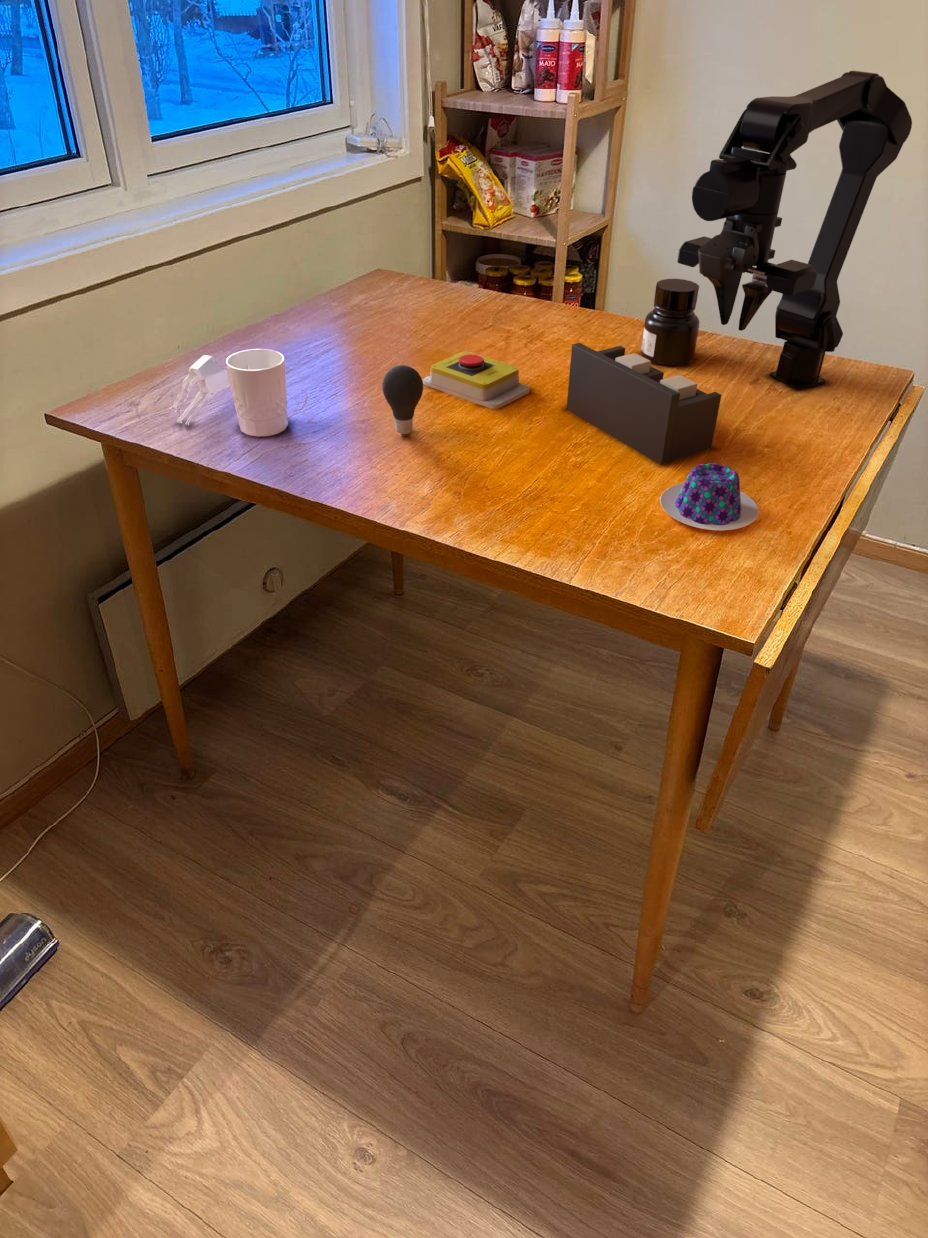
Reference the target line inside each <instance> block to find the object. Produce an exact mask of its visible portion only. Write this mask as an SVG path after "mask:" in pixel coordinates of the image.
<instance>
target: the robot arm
mask: <svg viewBox="0 0 928 1238" xmlns="http://www.w3.org/2000/svg"><path fill="white" fill-rule="evenodd" d="M835 121H837V123H838V125H839V128H840V129H841V131H842V132H841V137H840V140H839V143H838V149H839V156H840V157H839V158H840V162H841V171H840V175H839V177H838V180H837V182H836V185H835V187H834V191H833V193H832V197H831V199H830V202H829V205H828V207H827V210H826V212H825V216H824V219H823V221H822V223H821V226H820V229H819V231H818V234H817V237H816V239H815V243H814V245H813V248H812V251H811V253H810V257H809V259H808V262H807V263H806V262H803V261H798V260H794V259H789V260H786V261H783V262H780V263H772V262H769V260H772V259H774V258H775V255H776V249H772V243H773V240H774V234H775V230H776V229H775V228H778V227H781V226H782V221H783V217H780V216H778V215H779V210H780V205H781V200H782V196H783V192H784V186H785V181H786V177H787V172H788V171H792V170H795V169H796V168H797V161H796V160H795V159H794V158H793V157H792V154H793V153H794V152H795V151H796V150H798V149H800V148H801V147H802V146H804V145H805V144H806V143H807V142H808V139H809V136H810V133H812V132H813V131H815V130H817V129H819V128H822V127H824V126H826V125H829V124H831V123H833V122H835ZM912 128H913V119H912V117H911V114H910V112H909V109H908V107H907V105H906V102H905V101H904V100H903V99H902V98H901V97H900V96H898V95H897V94H896V93H895V92H894V91H892V90H891V89H890V88H889V87H888V85H887V83H886V81H885V78H884V77H883V76H881V75H880V74H878V73H876V72H868V71H860V70H850V71H848V72H847V71H846V72H844V73H843V74H842V75H841V76H839V77H837V78H835V79H833V80H830V81H827V82H825V83H822V84H819V85H818V86H815V87H812V88H811V89H808V90H805V91H803V92H801V93H799V94H796V95H791V96H774V95H773V96H763V97H756V98H754V99H752V100H751V101H750V102H749V103H747V105H746V108H745V109H744V110H743V112H742V113H741V115H740V116H739V119H738V121H736V124H735V126H734V127H733V129H732V131H731V133H730V135H729V137H728V139H727V140H726V142H725V143H724V146H723V147H722V149H721V151H720V153H719V155H718V158H719V159H718V158H717V159H712V160H711V161H710V163H709V170H708V171H706V172H703V173H702V174H701V175H700V176H699V177H698V179H697V180H696V182H695V184H694V186H693V188H692V192H691V204H692V207H693V211H694V212H695V213H696V215H697V216H698V217H699V218H700V219H702V220H703V221H706V222H714V221H715V222H716V221H719V220H723V219H725V220H724V222H723V226H722V229H721V232H720V233H719V234H716V235H714V236H713V237H709V236H708V237H707V236H705V235H704V236H700V237H697V238H692V239H689V240H686V241H684V242H683V243H682V245H681V246H680V247H679V249H678V255H677V259H676V261H677V263H678V264H679V265H684V266H686V267H690V268H696V267H697V266H698V268H699V269H698V271H699V274H700V275H702V276H703V277H704V278H707V279H708V280H709V282H710V284H711V285H712V286H713V288H714V291H715V292H714V293H715V296H716V301H717V308H718V313H719V319H720V324H721V325H722V326H725V325H728V324H729V321H730V319H731V317H732V314H733V311H734V306H735V303H736V299H737V295H738V291H739V288H740V284H741V280H742V277H743V274H745V273H746V274H751V275H752V279H751V281H749V282H747V283H743V284H742V285H741V287H742V290H743V293H744V297H743V302H742V306H741V311H740V315H739V320H738V331H741V332H742V331H745V330H746V329H747V327H748V326H749V324H750V323H751V321H752V319H754V318H753V317H754V316H755V315H756V314H757V312H758V311H759V309H760V308H761V306H762V305H763V304H764V302H765V301H766V299H767V298H768V297H769V296H770V295H771V293H772V292H775V293H777V294H782V295H781V298H780V300H779V303H778V304H777V306H776V310H775V316H774V319H775V320H774V322H775V323H774V325H775V327H774V329H775V332H774V333H775V336H774V337H775V338H777V339H780V340H783V341H784V342H783V347H782V351H780V353H779V354H780V355H779V358H778V362H777V367H776V370H775V371H770V372H769V374H768V376H769V377H771V378H772V379H774V380H776V381H778V382H781V383H782V384H784V385H786V386H788V387H790V388H792V389H794V390H802V389H806V388H810V387H811V388H812V387H815V386H819V385H823V384H826V383H827V379H826V378H824V377H822V376H820V375H821V370H822V367H823V363H824V359H825V355H826V353H833V352H835V351H836V348H838V347H839V345H840V343H841V342H842V341H841V340H842V337H844V336H843V335H844V332H843V329H842V327H841V324H840V322H839V319H838V317H837V314H838V311H839V308H840V305H841V298H840V291H839V286H838V278H839V276H840V274H841V271H842V269H843V266H844V264H845V262H846V258H847V256H848V253H849V250H850V248H851V245H852V242H853V240H854V238H855V235H856V233H857V230H858V228H859V224H860V222H861V220H862V217H863V215H864V211H865V209H866V206H867V204H868V202H869V198H870V196H871V193H872V190H873V188H874V186H875V183H876V180H877V178H878V177H879V176H880V175H881V174H882V173H883V172H884V171H885V170H886V169H887V168H888V167H889V166H891V164H893V163H894V162H895V161H896V160H897V158H898V156H899V154H900V152H901V150H902V148H903V147H904V146H903V145H904V144H905V143H906V141H907V140H908V138H909V136H910V134H911V130H912Z"/></svg>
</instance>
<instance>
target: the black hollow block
mask: <svg viewBox="0 0 928 1238" xmlns="http://www.w3.org/2000/svg"><path fill="white" fill-rule="evenodd" d="M570 351H571V352H570V362H569V363H570V364H569V376H568V385H567V396H566V408H565V409H566V411H568V412H570V413H572V414H573V415H575V416H577V417H579V418H580V419H582V420H584V421H585V422H587V423H589V424H591V425H592V426H594V427H596V428H597V429H599V430H600V431H602V432H604V433H606V434H608V435H609V436H611V437H613V438H614V439H616V440H618V441H619V442H621V443H623V444H625V445H626V446H628V447H630V448H631V449H633V450H634V451H637V452H638V453H640V454H642V455H643V456H645V457H646V458H648V459H650V460H652V461H653V462H655V463H657V464H659V465H660V466H662V465H666V464H668V463H671V462H675V461H678V460H680V459H684V458H687V457H690V456H693V455H696V454H699V453H702V452H705V451H708V450H711V449H712V447H713V441H714V435H715V431H716V426H717V421H718V415H719V410H720V405H721V400H722V394H721V393H719V392H717V391H712V392H709V393H707V394H706V395H702V396H699V397H696V398H692V399H689V400H685V401H682V402H679V396H680V393H679V392H677V391H675V390H673V389H671V388H669V387H667V386H665V385H663V384H661V383H659V382H657V381H655V380H653V379H651V378H649V377H647V376H645V375H643V374H641V373H639V372H637V371H635V370H633V369H631V368H629V367H627V366H625V365H623V364H621V363H619V362H617V361H615V359H616V358H617V357H621V356H625V355H626V347H624V346H621V345H618V346H614V347H609V348H605V349H601V350H598V351H597V350H595V349H593V348H591V347H589V346H587V345H585V344H583V343H581V342H576V343H573V344H571V350H570Z"/></svg>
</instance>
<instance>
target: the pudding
mask: <svg viewBox="0 0 928 1238" xmlns="http://www.w3.org/2000/svg"><path fill="white" fill-rule="evenodd" d="M659 504H660V507H661V508H662V509H663V511H664V512H665V513H666V514H667V515H668V516H670V517H671V518H672V519H674V520H676V521H677V522H679V523H682V524H685V525H687V526H690V527H693V528H697V529H703V530H709V531H733V530H738V529H741V528H745V527H747V526H749V525H751V524H752V523H753V522H755V521H756V519H757V518H758V516H759V507H758V505H757V503H756V502H755V501H754V500H753V498H751V497H750V495H748V494H746V493H745V492H743V491H741V483H740V476H739V473H738V472H736V470H733V469H732V468H731V467H730V466H728V465H725V464H718V463H715V462H708V463H707V464H706V463H705V464H704V463H700V464H697V465H695V467H694V468H692V469H691V471H689V472H688V475H687V477H686V479H685V481H684V482H681V483H677V484H673V485H672V486H669V487H668V488H667V489H665V490H664V491H663V492H662V493H661V495H660V498H659Z"/></svg>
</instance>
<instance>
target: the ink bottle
mask: <svg viewBox="0 0 928 1238" xmlns="http://www.w3.org/2000/svg"><path fill="white" fill-rule="evenodd" d="M699 290H700V285H699V284H698V283H697V282H695V281H691V280H688V279H684V278H665V279H660V280H658V281H657V282H656V285H655V292H654V299H653V307H654V308H653V309H652V310H651V311H649V312H648V313H647V315H646V316H645V318H644V325H643V333H642V340H641V348H640V356H642V357H644V358H646V359H648V360H650V361H651V363H652V364H656V365H660V366H671V367H673V366H684V365H687V364H689V363H691V362H692V361H693V360H694V357H695V353H696V348H697V341H698V335H699V329H700V318H699V317H698V315H696V313H695V312H694V311H695V310H696V307H697V302H698V296H699Z"/></svg>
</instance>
